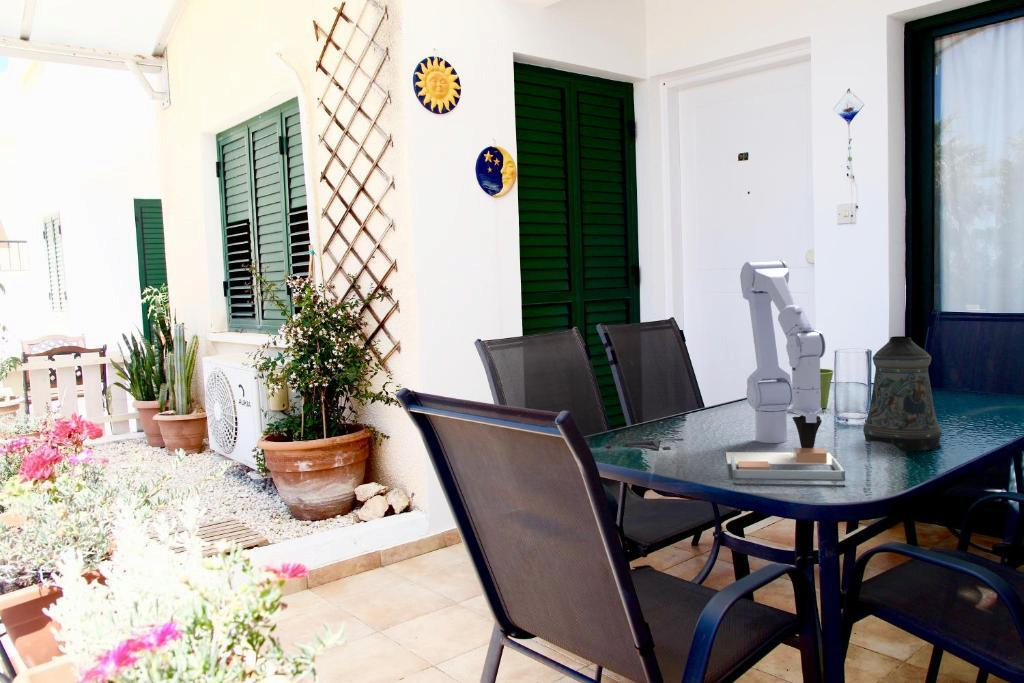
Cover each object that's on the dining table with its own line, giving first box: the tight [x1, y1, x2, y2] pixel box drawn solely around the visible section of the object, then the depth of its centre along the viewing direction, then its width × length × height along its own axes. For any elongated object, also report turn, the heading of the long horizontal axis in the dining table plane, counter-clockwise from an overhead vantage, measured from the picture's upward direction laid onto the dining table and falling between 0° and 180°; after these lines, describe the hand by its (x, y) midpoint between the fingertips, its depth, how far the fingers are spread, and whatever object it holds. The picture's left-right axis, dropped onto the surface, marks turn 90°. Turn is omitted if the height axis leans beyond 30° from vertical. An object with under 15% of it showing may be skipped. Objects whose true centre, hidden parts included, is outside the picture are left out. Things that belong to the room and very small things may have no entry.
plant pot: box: [820, 368, 835, 409], centre depth 240 cm, size 12×12×11 cm
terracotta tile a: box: [737, 461, 771, 470], centre depth 164 cm, size 5×6×2 cm
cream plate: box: [725, 451, 834, 466], centre depth 172 cm, size 11×22×2 cm, turn 77°
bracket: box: [624, 438, 684, 452], centre depth 192 cm, size 14×15×3 cm
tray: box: [730, 457, 846, 488], centre depth 161 cm, size 12×21×3 cm, turn 77°
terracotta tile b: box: [792, 447, 828, 463], centre depth 169 cm, size 5×6×2 cm
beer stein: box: [862, 335, 943, 451], centre depth 188 cm, size 16×19×25 cm
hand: (807, 450), depth 173 cm, fingers closed
